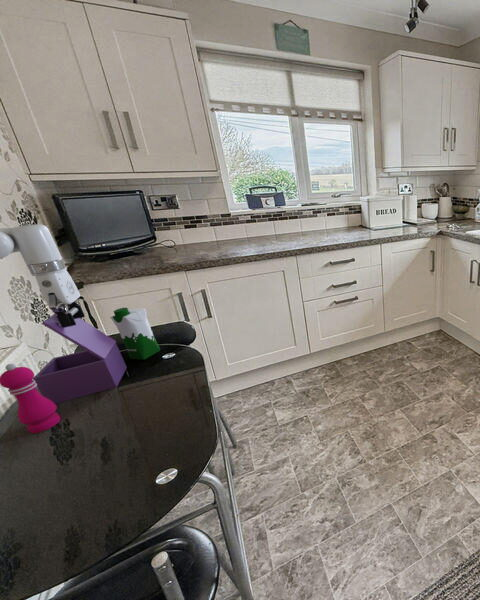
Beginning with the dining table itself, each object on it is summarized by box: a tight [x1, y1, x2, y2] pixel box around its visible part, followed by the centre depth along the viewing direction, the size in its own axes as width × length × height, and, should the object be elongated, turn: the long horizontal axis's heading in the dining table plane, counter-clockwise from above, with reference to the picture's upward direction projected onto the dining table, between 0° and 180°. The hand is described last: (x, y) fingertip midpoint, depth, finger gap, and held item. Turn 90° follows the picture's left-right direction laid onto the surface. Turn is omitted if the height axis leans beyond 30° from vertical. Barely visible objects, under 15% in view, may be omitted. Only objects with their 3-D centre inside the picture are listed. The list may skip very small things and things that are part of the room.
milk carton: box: [109, 307, 161, 361], centre depth 124 cm, size 9×9×20 cm
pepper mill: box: [0, 363, 61, 434], centre depth 88 cm, size 7×7×20 cm
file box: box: [33, 343, 128, 405], centre depth 108 cm, size 17×14×10 cm
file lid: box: [41, 307, 117, 360], centre depth 105 cm, size 18×14×5 cm
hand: (74, 321), depth 103 cm, fingers closed on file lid, 7 cm apart
